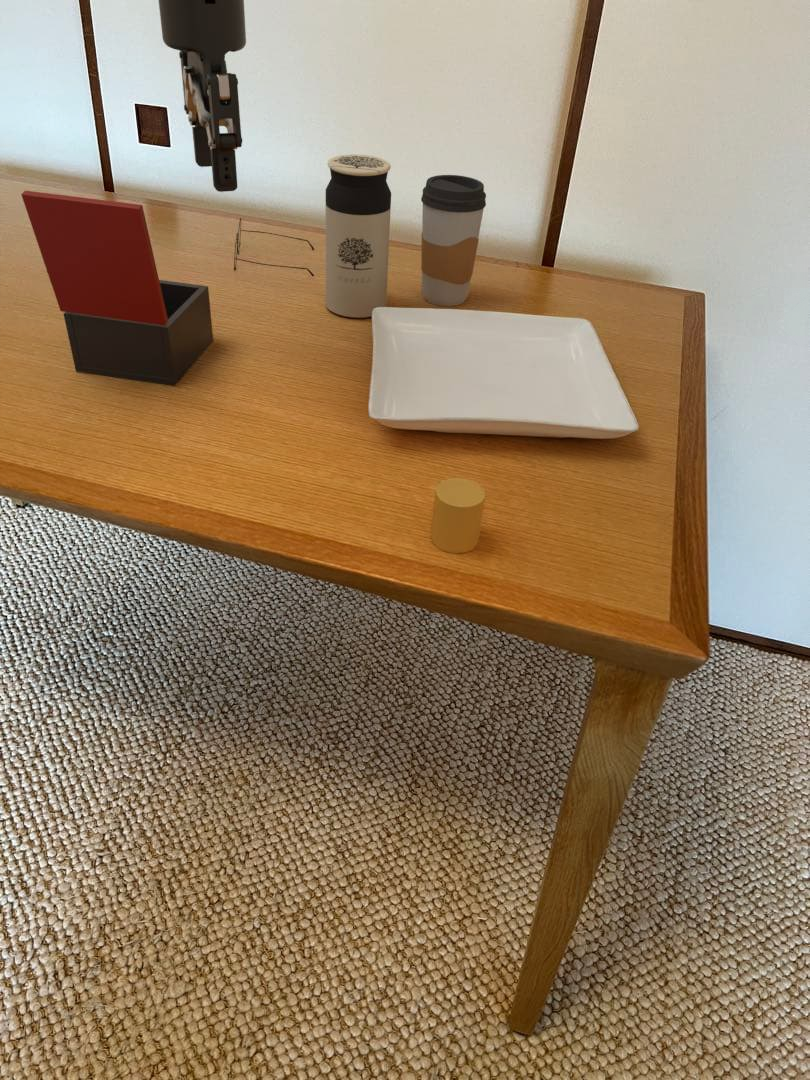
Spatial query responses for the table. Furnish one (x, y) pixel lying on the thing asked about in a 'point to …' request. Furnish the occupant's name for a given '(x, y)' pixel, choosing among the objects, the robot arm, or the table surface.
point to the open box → (145, 339)
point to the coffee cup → (450, 236)
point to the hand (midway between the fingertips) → (216, 177)
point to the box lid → (97, 256)
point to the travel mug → (357, 235)
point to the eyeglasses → (260, 263)
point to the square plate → (494, 375)
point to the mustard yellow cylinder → (457, 515)
